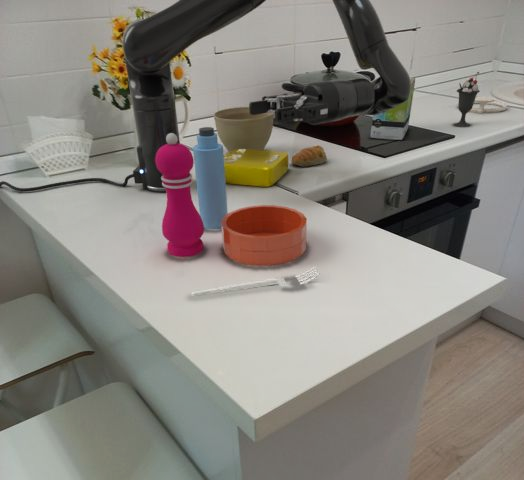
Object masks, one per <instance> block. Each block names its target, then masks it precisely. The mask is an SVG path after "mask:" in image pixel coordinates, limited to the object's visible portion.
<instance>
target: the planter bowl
mask: <svg viewBox="0 0 524 480" xmlns="http://www.w3.org/2000/svg"><path fill="white" fill-rule="evenodd" d="M274 118H275V113H263V114H256V115H251V114H250V112H249V106H236V107H229V108H223V109H220V110H217V111H215V112H214V113H213V120H214V123H215V129H216V134H217V136H218V137H219V140H220V142H221V144H222V145H223V147H225V149H226V150H227V152H228V153H230V152H231V151H233V150H235V149H253V150H265V148H266V146H267V144H268V143H269V141H270V138H271V136H272V132H273V127H274Z"/></svg>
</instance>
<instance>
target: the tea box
mask: <svg viewBox="0 0 524 480" xmlns="http://www.w3.org/2000/svg"><path fill="white" fill-rule="evenodd" d="M410 80H411V94H410V96H409V98H408V100H407V101H406V102H404V103H403V104H401V105H399V106H397V107H395V108H393V109H391V110H388V111H387V112H384V113H382V114H378V115H373V116H372V119H371V128H370V136H369V138H371V139H379V140H393V141H394V140H395V141H396V140H397V141H403V139H404V138H405V135H406V133H407V131H408V129H409V126H410V125H409V124H410V118H411V111H412V105H413V99H414V91H415V86H416V77H410Z"/></svg>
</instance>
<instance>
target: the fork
mask: <svg viewBox="0 0 524 480" xmlns="http://www.w3.org/2000/svg"><path fill="white" fill-rule="evenodd" d="M320 274H321V273H320V272H319V270H318V268H316V266H313V267H311V268H310V269H309V270H307V271H303V272H302V273H300V274H296V275H294V276H295V278H296V280H297V281H298V283H299V285H307V284H308V283H311V282H312V281H313V280H315V279H316V278H317V277H318V276H319V275H320ZM275 285H278V286H283V287H288V283H287V281H286V280H285V278H284V277H274V278H266V279H260V280H256V281H255V280H253V281H249V282H242V283H237V284H231V285H226V286H219V287H213V288H207V289H202V290H196V291H195V290H194V291H192V292H191V296H192V297H195V296H201V295H202V296H203V295H208V294H217V293H225V292H232V291H233V292H234V291H240V290H246V289H247V290H248V289H254V288H255V289H256V288H261V287H267V286H275Z"/></svg>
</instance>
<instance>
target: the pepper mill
mask: <svg viewBox="0 0 524 480" xmlns="http://www.w3.org/2000/svg"><path fill="white" fill-rule="evenodd" d="M166 141H167V143H168V144H166V145H163V146H162V147H161V148H160V149H159V150H158V151H157V153H156V166H157V168H158V170H159V171H160V172H161V173H162V174H163V175H162V177H161V180H162V185H163V186H164V187H165V189H166V207H165V210H164V214H163V217H162V221H161V222H162V223H161V232H162V235H163V237H164V238H165V239H166V241H168V242H167V245H166V247H167V253H168V254H169V255H170V256H173V257H176V258H188V257H194V256H196V255H197V256H198V254H200V253H202V252H203V251H204V242H203V240H202V239H201V238H202V237H203V235H204V233H205V228H204V225H203V221H202V219H201V216H200V212H199V211H198V209H197V208H196V207H195V204H194V201H193V199H192V192H191V190H192V189H191V186H192V185H193V180H192V178H193V175H192V173H190V172H191V171H192V169H193V167H194V155H193V152H191V150H190V148H188V147H187V146H186V145H184V144H182V143H180V144H179V143H177V141H178V139H177V136H176V135H175V134H173V133H170V134H168V135H167V137H166Z"/></svg>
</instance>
